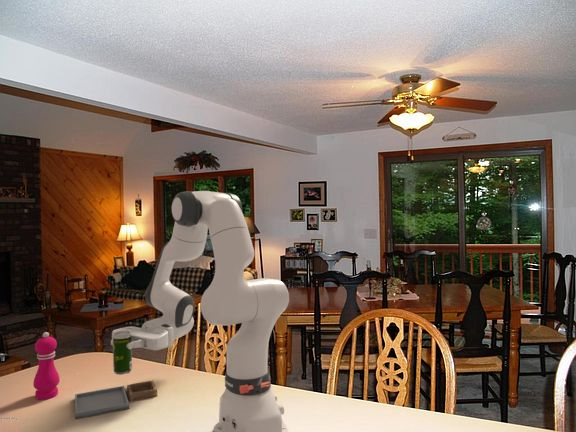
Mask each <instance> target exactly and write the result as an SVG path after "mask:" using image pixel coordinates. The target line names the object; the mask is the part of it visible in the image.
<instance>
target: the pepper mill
mask: <svg viewBox="0 0 576 432" xmlns="http://www.w3.org/2000/svg"><path fill="white" fill-rule="evenodd" d="M57 345H58V344H57V340H56V339H55V338H54V337H52V336H50V333H49V332H47V331H45V332H43V333H42V337H41V338H40V337H39V339H38V340H36V342H35V344H34V349H35V352H37V353H36V359H38V368H37V371H36V373H35V376H34V378H33V387H34V388H35V393H34V394H35V395H34V396H35V399H36V400H38V401H39V400H41V401H42V400H43V401H44V400H48V399H52V398H54V397H56V396H57V395H59V387H58V385H59V384H60V375H59V372H58V370H57V369H56V365H55V361H54V360H55V357H56V351H55V350H56V348H57Z"/></svg>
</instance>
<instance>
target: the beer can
mask: <svg viewBox="0 0 576 432" xmlns="http://www.w3.org/2000/svg"><path fill="white" fill-rule="evenodd" d="M130 333H131V332H130V331H119V332H115V333H114V336H113V345H112V354H113V355H112V357H113V358H112V360H113V366H112V367H113V372H114V374H115V375H119V376H120V375H121V376H122V375H127V374H130V373H131V371H132V369H133V350H132V349H133V348H132V349H127V348H126V343H128V342H132V339H131V334H130Z"/></svg>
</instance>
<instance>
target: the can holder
mask: <svg viewBox="0 0 576 432" xmlns="http://www.w3.org/2000/svg"><path fill="white" fill-rule="evenodd" d="M126 387H127V388H126V391H127V396H128V398H129V399H128V400H129V402H132V401H138V400H143V399H149V398H154V397H158V388H157V387H156V384H155V382H154V380H149V381H148V380H147V381H142V382H137V383H132V384H127V385H126ZM145 389H146V390H145Z"/></svg>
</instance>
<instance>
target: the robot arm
mask: <svg viewBox="0 0 576 432" xmlns="http://www.w3.org/2000/svg"><path fill="white" fill-rule="evenodd" d="M170 211H171V215H172V219H173V220H174V225H173V231H172V233H171V234H172V235H171V238H170V240H169V241H167V242H166V243H165V244H164V245H163V247H162V248H161V250H160V251H159V252H160V253H159V255H158V258H157V261H156V264H155V268H154V270H153V274H152V277H151V279H150V282H149V285H148V286H147V288H146V290H145V294H144V295H145V303H146V304H147V305H148V306H149V307H152V308H153V309H156V310H158V311H159V312H161V313H163V314H162V316H160V317H157V318H154V319H149V320H146V321H144V323H142V326H141V327H137V326H125V327H120V328H117V329H113V330H112V332H111V340H110V345H111V346H113V336H114V333H115V332H119V331H130V332H131V333H130V334H131V339H132V342H128V343H126V348H127V349H137V348H142V349H146V350H152V351H159V350H163V349H167V348H171V347H173V346H174V341H175V340H177V339H179V338H181V337H183V336H186V335H187V334H188V333H189V332H190V331H192V329H193V327H194V323H195V320H194V311H195V301H194V298H193V296H191V295H190V294H189V293H187V292H186V291H184V290H181V289H180V288H178V287H177V286H175V285H173V284H172V283H171V281H170V276H171V274H172V271H173V268H174V265H175V263H176V262H191V261H194V260H196V259H197V258H199V257H200V256H202V254H203V253H204V251H205V246H206V242H207V237H208V232H209V238H210V242H211V247H212V252H213V258H214V264H215V265H214V266H215V267H214V268H215V269H214V274H213V275H214V277H213V278H212V281H211V283H210V285H208V287H207V288H206V289H205V290H204V292H203V294H202V296H201V299H200V311H201V314H202V317H203V318H204V319H205V321H206V322H208V323H209V324H210V325H213V326H232V325H237V324H241V325H240V328H239V330H238V331H237V332H236V333H234V335H232V337H230V339H229V340H228V342H227V343H226V371H225V373H224V387H225V389H224V391H223V393H222V394H221V396H220V398H219V411H218V412H219V413H218V422H217V423H215V424H214V425H213V432H290V431H289V429H288V427H287V426H286V424H285V421H284V419H283V417H282V415H284V414H285V408H284V405H283V404H282V405H281V404H280V405H278V402H277V401H278V396H277V395H275V394H274V393H273V390H272V383H271V376H270V371H269V369H268V358H269V357H268V354H269V343H270V342H269V341H270V338H271V334H272V331H273V329H274V327H275V325H276V323H277V321H278V319H279V318H280V316H281V315H282V314H283V312H285V311H286V309H288V306H289V303H290V294H289V291H288V288H287V285H286V284H285V283H284V282H283V281H281V279H276V278H267V277H262V278H256V279H248V280H246V279H245V275H244V274H245V273H244V272H245V271H244V270H245V269H246V268H247V267H249V265H250V264H252V262H253V261H254V258H255V255H256V254H255V249H254V246H253V241H252V238H251V235H250V231H249V227H248V224H247V220H246V217H245V216H244V213H243V205H242V202H241V200H240V198H239V197H238V196H237V195H236V194H233V193H229V192H217V191H210V190H198V191H189V190H186V191H181V192H178V193H177V194H176V195H175V196H174V197H173V199H172V202H171V209H170ZM208 323H207V324H208Z"/></svg>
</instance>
